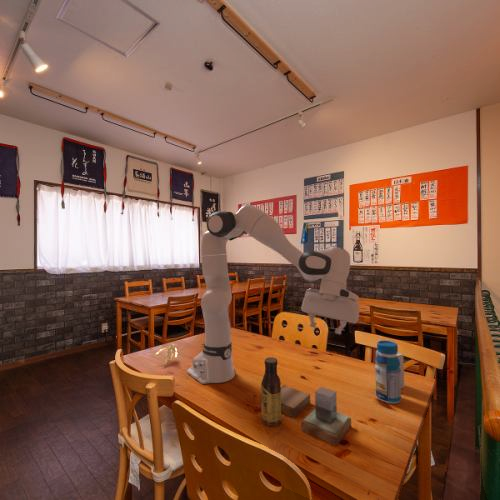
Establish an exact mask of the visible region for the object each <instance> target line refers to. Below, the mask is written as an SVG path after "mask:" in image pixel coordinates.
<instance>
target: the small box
mask: <svg viewBox="0 0 500 500" xmlns="http://www.w3.org/2000/svg"><path fill="white" fill-rule="evenodd" d="M378 353H379V352H378V350H377V349H376V350H375V357H376V356H377V354H378ZM396 356H397V357H398V359H399V361H400V366H399V367H400V369H401V374H400V385H401V389H404V388H405V369H404V364H405V363H404V354H402V353H400V352H398V353H397V355H396Z"/></svg>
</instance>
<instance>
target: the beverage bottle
mask: <svg viewBox="0 0 500 500" xmlns="http://www.w3.org/2000/svg"><path fill="white" fill-rule="evenodd" d="M398 349H399V348H398V343H396V342H394V341H391V340H378V341H377V343H376V351H377V350H378V352H379V353H378V354H377V356H376V355H375V359H374V361H375V366H374V370H375V397H376V398H377V399H379V400H380V401H381V402H384V403H387V404H393V405H394V404H395V405H396V404H398V403H400V402H401V401H402V395H401V393H402V391H401V389H402V388H401V385H400V374H401V369H400V367H399V366H400V361H399V359H398V357H397V356H396V355H397V353H399V351H398Z"/></svg>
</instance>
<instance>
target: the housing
mask: <svg viewBox="0 0 500 500" xmlns="http://www.w3.org/2000/svg"><path fill="white" fill-rule="evenodd" d="M314 394H315V395H314V399H315V400H314V401H315V406H314V407H315V408H314V409H315V413H316V418H317V419H319V420H321V421H324V422H326V423H329V424H332V423H333V422H334V421H335V420H336V418H337V413H338V411H337V407H338V406H337V391H335V390H332V389H329V388H326V387H323V386H320V387H319V388H317V390H315V391H314Z"/></svg>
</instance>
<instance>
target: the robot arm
mask: <svg viewBox="0 0 500 500" xmlns="http://www.w3.org/2000/svg"><path fill="white" fill-rule="evenodd" d="M206 228H207V231H205V232H203V234H202V236H201V242H200V244H201V245H200V255H201V267H202V269H201V270H202V275H203V279H204V282H205V286H206V291H204V293H203V294H202V297H201V300H200V306H201V310H202V317H203V322H204V336H205V337H204V339H205V340H204V341H205V342H204V343H201V345H200V346H201V348H202V347H203V349H202V351H200V353H199V354H197V355H196V356H194V358H193V360H192V366H190V367H189V368H188V369H187V370H186V373H187V375H189V376H191V377H192V378H194V379H195V380H196V381H198V382H199V383H200V384H203V385H205V384H221V383H225V382H228V381H231V380H233V379H234V378H235V376H236V373H235V366H234V362H233V354H232V352H233V351H232V350H233V345H232V340H231V338H232V337H231V321H230V316H229V305H230V304H231V302H232V300H233V299H232V298H233V295H232V287H231V283H230V282H231V280H230V276H229V268H228V258H227V243H228V241H234V240H237V239H238V238H240V237H242V236H243V235H245V233H247V234H248V235H249V236H250V237H252V238H253V239H255V241H258V242H259V243H261V244H262V245H264V246H265V247H268V248H270V249H271V250H273V251H275V252H276V253H277V254H279V255H281V256H282V257H283V258H284V259H285V260H286V261H288V262H289V263H291V265H293V267H295V268H296V269H297V271H298V273H299V274H300V276H301V278H302V279H303V280H304V281H305V282H307V283H309V284H315V283H316V284H317V283H319V282H320V285H319V288H308V289H306V291H305V294H304V298H303V301H302V304H301V307H300V308H301V311H302V312H304V313H306V314H308V318H309V321H310V324H309V327H310V328H314V329H316V328H317V322H315V319H314V318H316V316H319V317H323V318H324V317H325V318H328V319H333V320H336V321H337V320H338V321H339V324H340V325H339V326H338V327H335V330H334V333H335V334H336V335H342V331H343V329H344V328H345V327H346V325H347V323H349V324H350V323H351V324H353V325H354V324H357V323H358V321H359V317H360V305H359V303H358V302H359V300H360V297H359V296H358V294H356V293H354V292H352V291H351V290H349V289H347V283H348V282H347V279H348V276H349V274H350V267H351V255H350V253H349V251H347V250H346V249H345V248H342V247H339V246H330V247H328V248H325V249H320V250H308V251H305V252H302V251H301V250H300V249H299V248H297V247H296V246H294V245H293V244H292V243H291V242H290V240H288V238H287V236H286V235H285V233H284V230H283V228H282V227H281V225H280V224H279V223H278V221H276V220H275V219H274V218H273V216H271V215H269V214H268V213H267V212H266V211H264V210H262V209H260V208H258V207H257V206H255V205H252V204H243V206H241V207H240V208H239V209H238V211H237V212H235V213H234V212H232V211H223V210H220V211H219V210H218V211H214V212H213V213H211V214H209V216H208V218H207V219H206Z"/></svg>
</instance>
